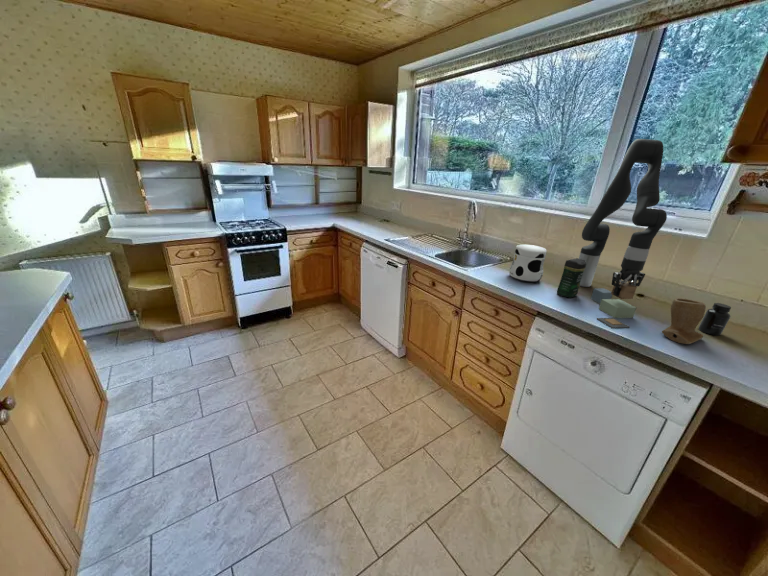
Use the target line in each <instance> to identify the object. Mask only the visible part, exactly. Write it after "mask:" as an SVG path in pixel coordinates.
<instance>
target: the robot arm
mask: <svg viewBox="0 0 768 576" xmlns="http://www.w3.org/2000/svg"><path fill="white" fill-rule="evenodd" d="M663 143H664V142H662V141H661V140H658V139H648V138H637V139H635V140H633V142H632V143H630V145H629V147H628V149H627V150H626V153H625V155H624V157H623V159H622V161H621V163H620V165H619V168H618V170H617V172H616V174H615V176H614V178H613V179H612V181H611V182H610V184H609V186H608V188H607V190H606V191H605V193H604V195H603V196H602V198H601V200H600V202H599V204H598V206H597V207H596V209H595V211H594V212H593V214H592V215H591V216H590V218H589V220H588V221H587V222H586V224H585V225H584V227H583V229H582V231H581V238H582V240H584V241H587V242H592V243H590V244H588V245H585V246H582V247H581V249H580V253H579V256H578V259H582V260H585V262H586V267H585V270H584V272H583V275H582V278H581V282H580V286H579V287H584V288H585V287H587V288H588V287H589V288H590V287H591V286H592V283H593V280H594V277H595V275H596V274H595V273H596V270H597V267H598V265H599V261H600V259H601V255H602V252H603V251H604V250H605V246H606V244H607V241H608V239H609V236H610V232H611V231H610V229H611V228H610V226H609V225H608V224H606V223H602V222H603V221H604V220H605V219H606V218H607V217H609V216H610V215H612V214H613V213H615V212H617V211H618V210H619V209H621V208H622V206H624V204H625V202H626V201H627V200H628V198H629V197H630V195H631V193H632V184H631V182H632V181H631V176H630V175H631V171H632V170H633V169H632V168H633V167H634V165H635V164H637V163H639V164H647V168H648V169H647V171H646V173H645V174H644V175H643V177H642V178H641V179H640V181H639V183H638V184H637V187H636V205H635V209H634V211H633V215H632V218H631V221H632V223H633V225H635V226H636V227H646V229H644V230H642V231H635V232H633V233H632V234H631V237H630V240H629V243H628V246H627V248H626V250H625V252H624V255H623V258H622V260H621V264H620V267H621V270H620V271H618V272H616V271H615V272H613V273H612V278H611V279H612V280H611V286H613V287H614V286H615V289H614V292H613V294H614V295H615V296H614V295H613V296H614V297H616V296H619V294H620V291H621V288H622V286H623V285H624V284H626V283H628V284H631V285H634V286H636V287H640V286H641V283H642V281H643V280H644V278H645V276H646V273H644V272H641V271H643V270H644V267H645V264H646V261H647V259H648V256H649V252H650V249H651V246H652V242H653V240H654V238H655V237H656V236H657V234H658V232H659V231H660V230H661V229H662V227H663V226H664V225H665V223H666V222H667V219H668V215H667V212H666V211H665V210H664V209H660V208H659V209H658V208H651V207H654V206H656V205H658V204H659V203H660V199H661V198H660V197H661V195H660V184H659V183H660V176H661V175H660V174H661V169H662V164H663V157H664V155H663V154H664V144H663ZM615 282H616V283H615ZM620 282H621V284H620V285H619V283H620Z"/></svg>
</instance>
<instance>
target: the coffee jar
mask: <svg viewBox="0 0 768 576" xmlns="http://www.w3.org/2000/svg"><path fill="white" fill-rule="evenodd" d="M585 267H586V262H585V260H582V259H579V257H578V258H577V257H576V258H571V259H567V260H565V262H564V266H563V271H562V275H561V278H560V280H559V284H558V287H557V290H556V293H557V294H558V295H559V296H561V297H564V298H565V297H566V298H568V299H569V298H575V297H576V296H578V292H579V289H580V287H581V286H580V282H581V278H582V275H583V272H584V270H585Z"/></svg>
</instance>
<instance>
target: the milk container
mask: <svg viewBox="0 0 768 576" xmlns="http://www.w3.org/2000/svg"><path fill="white" fill-rule="evenodd" d="M546 255H547V249H546V248H545V247H542V246H540V245H533V244H525V243H524V244H517V245H516V247H515V249H514V254H513V260H512V262H511V263H510V266H509V270H508V273H509V275H510V277H511V278H513V279H514V280H516V281H520V282H524V283H536V282H539V281H540V280H542V278H543V276H544V264H545V259H546Z"/></svg>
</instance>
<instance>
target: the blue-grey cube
mask: <svg viewBox="0 0 768 576" xmlns="http://www.w3.org/2000/svg"><path fill="white" fill-rule="evenodd" d="M611 293H612V290H611V291H610V290H609V289H606V288H604V287H602V288H598V287H597V288H593V290H592V294H591V296H590V299H591V300H592V301H594V302H596V303H598V304H600V303H601V300H602V299H612V297H613V295H612V294H611Z"/></svg>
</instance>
